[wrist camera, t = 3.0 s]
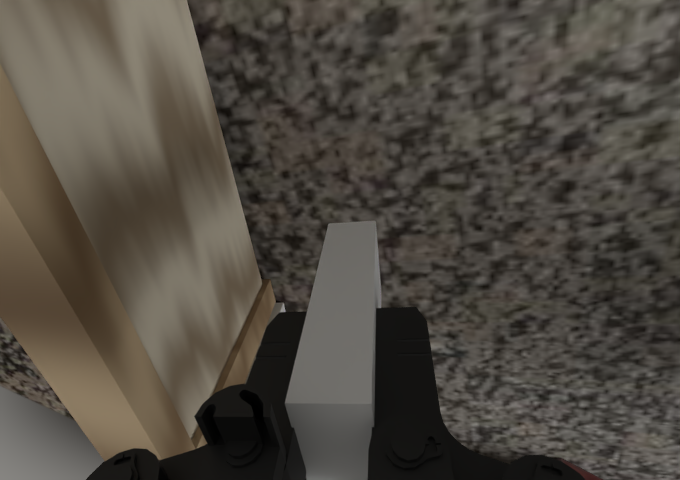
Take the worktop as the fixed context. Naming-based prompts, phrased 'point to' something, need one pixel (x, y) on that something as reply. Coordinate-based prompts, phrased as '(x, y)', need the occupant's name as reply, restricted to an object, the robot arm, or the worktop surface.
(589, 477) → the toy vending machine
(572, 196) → the worktop surface
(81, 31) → the gate
